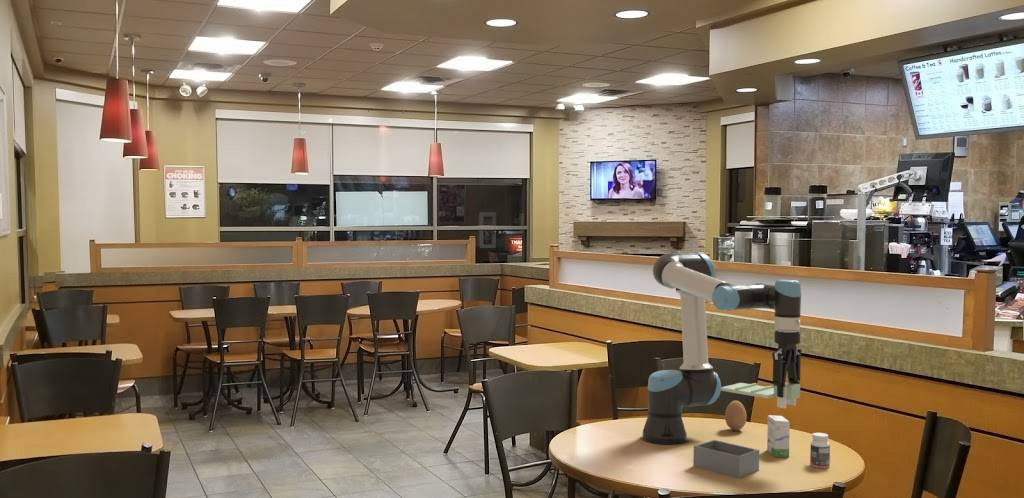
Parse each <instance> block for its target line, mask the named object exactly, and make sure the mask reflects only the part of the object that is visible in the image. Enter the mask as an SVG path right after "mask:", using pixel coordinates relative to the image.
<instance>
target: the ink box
mask: <svg viewBox="0 0 1024 498" xmlns="http://www.w3.org/2000/svg"><path fill="white" fill-rule="evenodd" d="M790 425H791V424H790V421H789V420H788V419H786V418H785V417H784V416H783V415H773V414H772V415H771V414H770V415H769V414H768V415H767V437H766V438H767V439H766V440H767V443H766V450H767V451H768V452H769V454H771V455H772V456H773V457H774V458H789V457H790Z"/></svg>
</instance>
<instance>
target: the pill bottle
mask: <svg viewBox="0 0 1024 498" xmlns="http://www.w3.org/2000/svg"><path fill="white" fill-rule="evenodd" d="M811 435H812V436H811V437H812V440H811V441H810V457H809V458H810V459H809V461H810V463H809V464H810V466H811V467H814V468H815V469H816V468H817V469H827V468H830V464H831V463H830V462H831V444H830V442H829V434H827V433H825V432H824V433H823V432H812V434H811Z"/></svg>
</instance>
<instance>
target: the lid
mask: <svg viewBox="0 0 1024 498" xmlns="http://www.w3.org/2000/svg"><path fill="white" fill-rule="evenodd" d="M785 387H787V396H786V400H787V399H788V400H794V399H796V400H797V399H800V398H801V385H800V384H792V383H789V382H785ZM721 391H722V392H728V393H732V394H733V393H734V394H738V395H739V394H740V395H745V396H751V397H757V398H763V399H771V398H776V399H777V386H774V385H767V386H763V385H758V383H756V382H753V383H744V382H738V383H735V384H730V385H726V386H721Z"/></svg>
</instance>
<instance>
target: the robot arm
mask: <svg viewBox="0 0 1024 498" xmlns="http://www.w3.org/2000/svg"><path fill="white" fill-rule="evenodd" d="M652 266H653V267H652V275H653V278H654V279H655V281H656V282H657V283H658V284H660V285H661V286H662V287H664V288H668V289H675V292H676V294H678V295H679V298H680V315H681V317H680V318H681V333H682V334H681V336H682V352H683V353H682V356H683V363H682V364H681V366H680V367H679V370H677V369H662V370H657V371H655V372H653V373H651V374H650V375H649V377H648V384H647V418H646V421H645V424H644V427H643V429H642V439H643V440H644V441H646V442H648V443H653V444H657V445H658V444H659V445H679V444H682V443H686V441H687V440H688V438H687V437H688V436H687V431H686V428H685V424H684V420H683V415H682V414H683V408H689V407H697V406H701V407H705V406H707V405H711V404H714V403H715V402H716V401H717V400H718V399H719V397H720V394H721V387H722V383H721V379H720V378H719V375H718V373H717V372H716V371H714V367H713V365H711V364H710V363H709V352H708V349H709V348H708V334H707V333H708V331H707V330H708V329H707V328H708V327H707V312H706V309H707V308H706V301H708V302H711V303H712V304H713V306H715V308H716V309H717V310H720V311H727V312H728V311H738V310H740V311H741V310H755V309H769V310H774V327H773V328H774V329H775V330H774V338H773V339H774V342H775V344H777V345H778V346H777V351H776V352H774V351H773V352H772V354H771V355H772V386H773V387H774V386H777V398H776V407H777V408H780V409H787V405H789V406H797V399H794V400H788V399H786V396H787V387H785V383H792V384H798V385H800V382H801V363H802V362H801V357H802V356H801V355H802V352H803V351H802V349H801V348H798V347H797V345H800V344H801V331H799V330H801V323H802V321H801V309H802V307H801V305H802V291H801V290H802V287H801V282H800V281H799V280H797V279H777V280H775V282H774V283H775V284H774V285H772V284H765V283H752V284H741V285H739V284H738V285H737V284H732V283H729V282H727V281H724V280H721V279H719V278H715V277H716V268H715V264H714V262H713V261H712V259H711V258H710V257H709V256H708V254H706V253H702V252H671V253H665V254H663V255H661V256H659V257H658V258H656V260H655V262H654V263H653V265H652ZM787 380H788V382H786V381H787Z"/></svg>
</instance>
